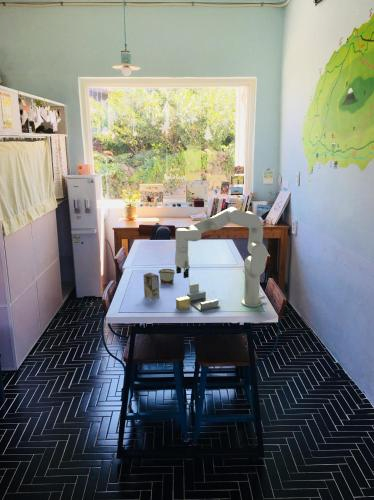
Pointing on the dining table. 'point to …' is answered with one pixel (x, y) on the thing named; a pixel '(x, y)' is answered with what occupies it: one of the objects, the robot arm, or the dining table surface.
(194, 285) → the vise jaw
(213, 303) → the panel
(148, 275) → the coffee box
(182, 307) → the block
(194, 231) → the robot arm
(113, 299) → the dining table surface
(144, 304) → the dining table surface
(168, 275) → the food container
